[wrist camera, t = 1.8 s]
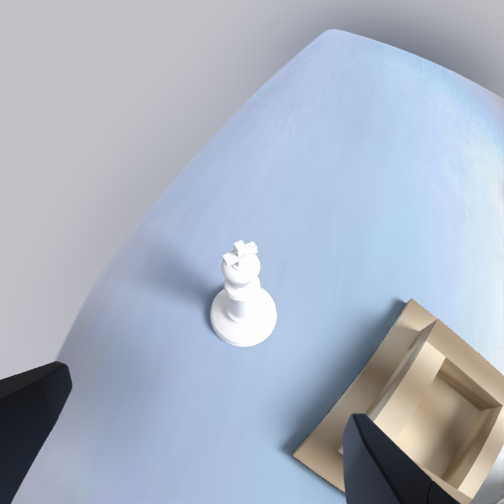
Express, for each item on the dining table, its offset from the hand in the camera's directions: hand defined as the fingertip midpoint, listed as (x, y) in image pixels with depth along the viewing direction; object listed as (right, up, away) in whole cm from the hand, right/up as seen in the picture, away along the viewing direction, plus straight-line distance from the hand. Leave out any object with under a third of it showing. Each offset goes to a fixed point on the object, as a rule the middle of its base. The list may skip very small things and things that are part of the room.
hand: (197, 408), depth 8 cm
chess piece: (+1, 0, +15) cm, 15 cm away
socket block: (+15, -9, +10) cm, 20 cm away
